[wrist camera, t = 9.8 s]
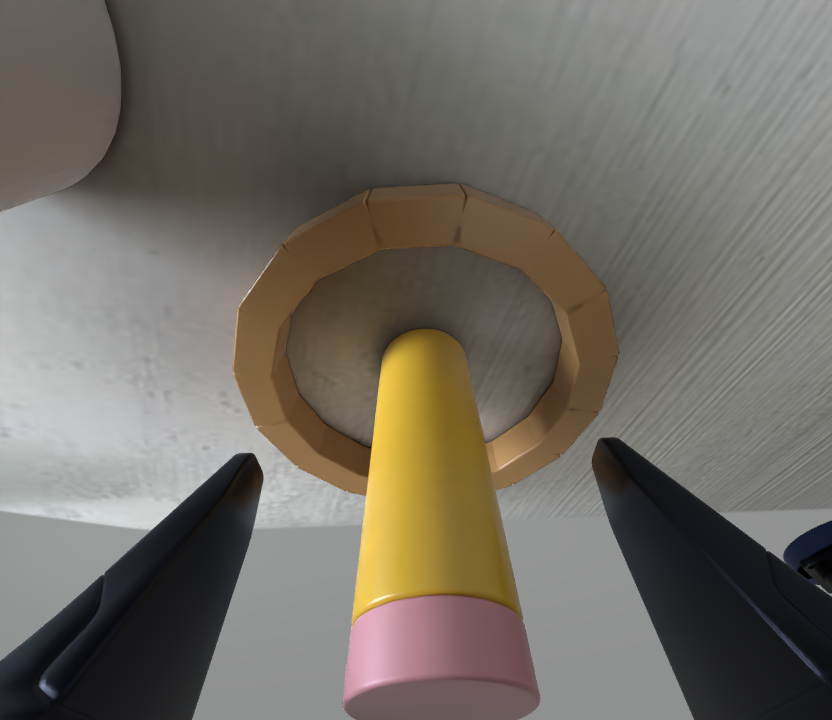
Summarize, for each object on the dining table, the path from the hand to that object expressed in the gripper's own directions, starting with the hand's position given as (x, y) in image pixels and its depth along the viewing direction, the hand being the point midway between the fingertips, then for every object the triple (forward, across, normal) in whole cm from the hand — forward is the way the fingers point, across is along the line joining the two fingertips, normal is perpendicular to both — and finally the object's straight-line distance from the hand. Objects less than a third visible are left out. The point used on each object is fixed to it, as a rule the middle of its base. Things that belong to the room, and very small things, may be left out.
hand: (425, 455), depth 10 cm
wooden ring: (+4, 0, 0) cm, 4 cm away
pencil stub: (+4, 0, 0) cm, 4 cm away
